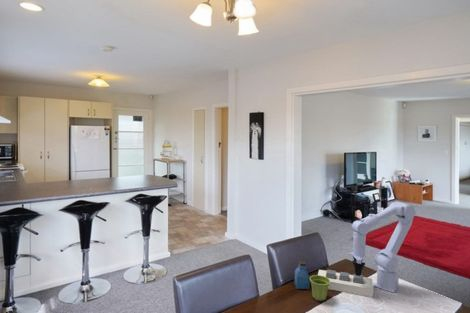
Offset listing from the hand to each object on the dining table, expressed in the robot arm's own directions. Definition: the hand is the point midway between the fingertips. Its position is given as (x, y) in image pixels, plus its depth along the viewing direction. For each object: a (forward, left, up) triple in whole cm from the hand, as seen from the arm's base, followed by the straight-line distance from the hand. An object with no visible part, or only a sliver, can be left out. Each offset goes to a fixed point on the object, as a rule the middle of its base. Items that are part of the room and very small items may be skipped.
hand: (357, 272), depth 151 cm
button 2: (0, 0, -6) cm, 6 cm away
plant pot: (+9, +21, -9) cm, 25 cm away
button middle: (+6, +2, -6) cm, 9 cm away
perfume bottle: (+21, +17, -9) cm, 29 cm away
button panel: (+6, +2, -8) cm, 10 cm away
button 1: (+12, +5, -6) cm, 14 cm away
